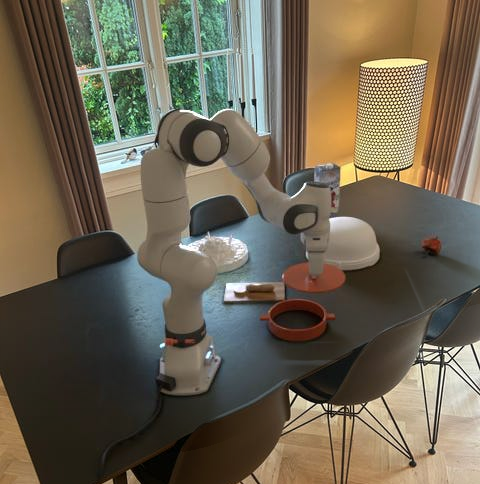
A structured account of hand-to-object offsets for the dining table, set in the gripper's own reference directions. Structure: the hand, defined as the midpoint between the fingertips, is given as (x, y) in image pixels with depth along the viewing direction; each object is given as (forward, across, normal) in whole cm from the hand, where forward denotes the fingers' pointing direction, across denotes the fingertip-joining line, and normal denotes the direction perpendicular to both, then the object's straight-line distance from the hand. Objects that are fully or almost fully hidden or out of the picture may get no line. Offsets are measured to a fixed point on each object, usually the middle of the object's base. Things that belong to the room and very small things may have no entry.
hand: (313, 274), depth 160 cm
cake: (+16, -46, -38) cm, 62 cm away
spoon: (+15, -17, -20) cm, 30 cm away
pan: (+16, +4, -5) cm, 18 cm away
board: (+16, -16, -20) cm, 31 cm away
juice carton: (+15, -84, +11) cm, 87 cm away
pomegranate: (+15, -45, +50) cm, 69 cm away
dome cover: (+16, -48, +15) cm, 52 cm away
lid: (+1, 0, 0) cm, 1 cm away
